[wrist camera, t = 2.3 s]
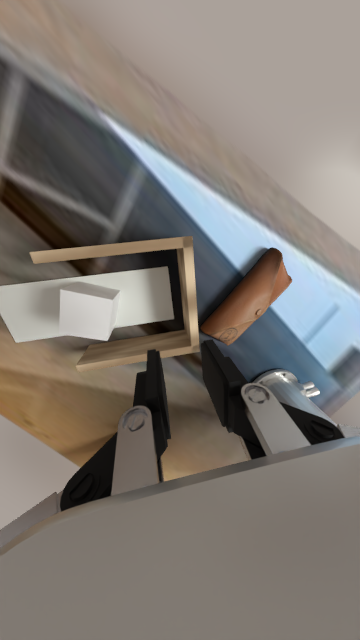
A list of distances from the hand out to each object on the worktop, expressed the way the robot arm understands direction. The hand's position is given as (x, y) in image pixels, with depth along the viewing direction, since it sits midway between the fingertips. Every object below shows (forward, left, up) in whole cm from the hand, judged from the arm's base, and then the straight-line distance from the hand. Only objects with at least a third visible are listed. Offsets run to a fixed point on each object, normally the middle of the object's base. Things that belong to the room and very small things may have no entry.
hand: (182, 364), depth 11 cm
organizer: (+5, -1, -19) cm, 20 cm away
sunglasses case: (-14, +6, -20) cm, 25 cm away
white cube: (+10, -2, -19) cm, 22 cm away
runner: (+11, -2, -19) cm, 22 cm away
